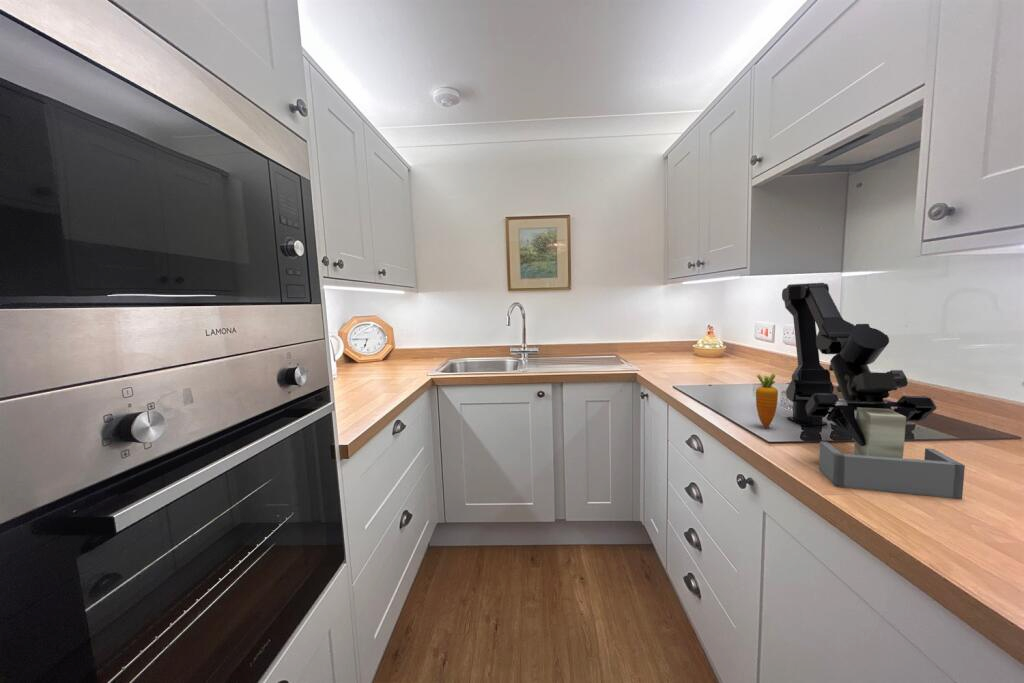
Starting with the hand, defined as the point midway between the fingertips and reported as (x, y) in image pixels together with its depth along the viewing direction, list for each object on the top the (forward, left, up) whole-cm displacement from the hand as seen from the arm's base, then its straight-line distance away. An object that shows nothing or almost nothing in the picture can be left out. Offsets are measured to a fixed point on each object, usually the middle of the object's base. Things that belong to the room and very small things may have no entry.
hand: (881, 446), depth 69 cm
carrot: (-29, -3, -7) cm, 30 cm away
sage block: (-1, 0, -7) cm, 7 cm away
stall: (+1, 0, -7) cm, 7 cm away
